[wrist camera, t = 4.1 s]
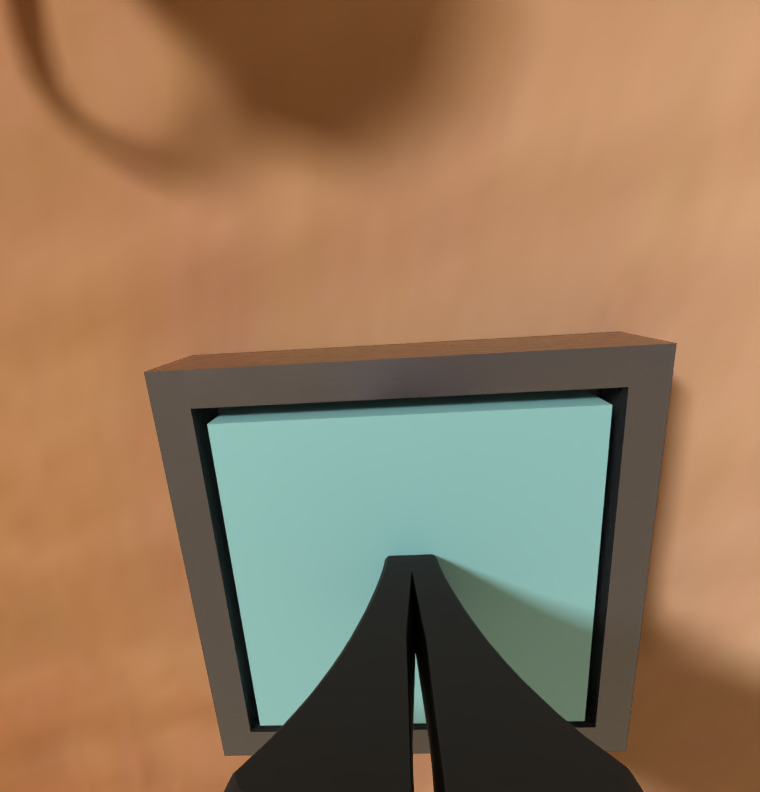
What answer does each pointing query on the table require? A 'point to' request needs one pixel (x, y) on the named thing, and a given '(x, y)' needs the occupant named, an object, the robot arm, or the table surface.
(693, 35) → the table surface
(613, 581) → the plate housing
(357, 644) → the robot arm
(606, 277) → the table surface
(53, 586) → the table surface
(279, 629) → the plate
